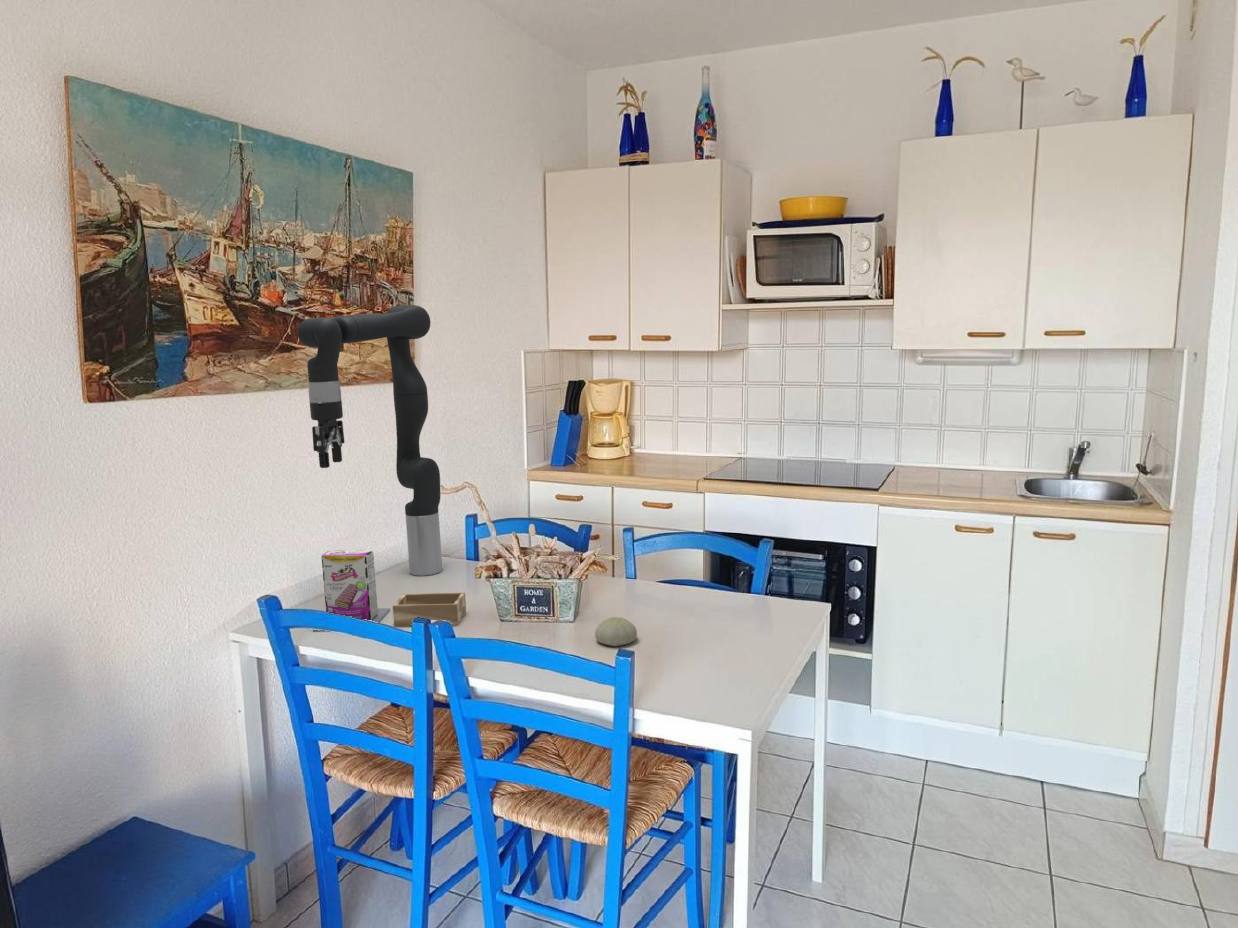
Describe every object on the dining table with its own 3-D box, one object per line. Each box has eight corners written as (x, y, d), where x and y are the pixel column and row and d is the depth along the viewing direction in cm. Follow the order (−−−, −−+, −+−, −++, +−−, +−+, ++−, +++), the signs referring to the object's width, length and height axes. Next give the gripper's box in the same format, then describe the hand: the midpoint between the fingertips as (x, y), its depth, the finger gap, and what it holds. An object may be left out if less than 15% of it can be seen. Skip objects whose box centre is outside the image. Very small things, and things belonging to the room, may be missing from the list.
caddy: (405, 613, 210) (403, 593, 209) (466, 612, 210) (464, 592, 209) (394, 626, 201) (392, 605, 200) (457, 625, 201) (456, 604, 200)
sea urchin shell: (636, 623, 193) (636, 607, 186) (637, 656, 188) (636, 641, 182) (596, 623, 193) (594, 608, 186) (596, 657, 188) (593, 642, 182)
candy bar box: (325, 621, 204) (319, 555, 202) (334, 614, 209) (328, 549, 206) (371, 621, 203) (365, 554, 201) (379, 614, 208) (373, 549, 206)
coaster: (334, 611, 213) (334, 609, 213) (390, 610, 213) (390, 608, 213) (312, 631, 200) (312, 628, 200) (372, 630, 199) (371, 627, 199)
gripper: (321, 398, 218) (327, 460, 221) (298, 403, 204) (305, 470, 207) (350, 397, 218) (355, 460, 221) (329, 402, 204) (335, 469, 206)
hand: (331, 464), depth 214 cm, fingers open, 8 cm apart
